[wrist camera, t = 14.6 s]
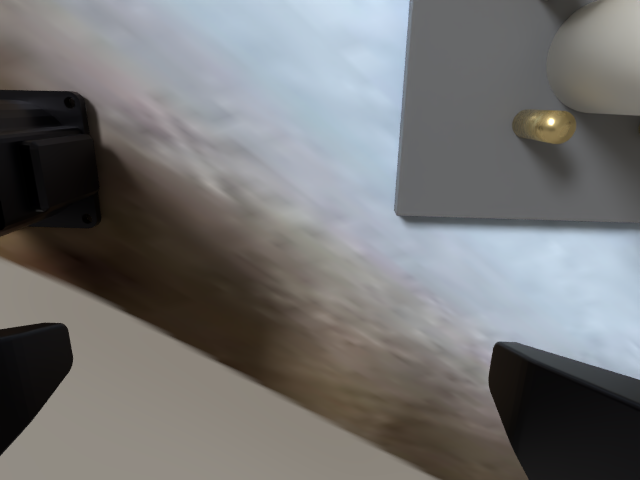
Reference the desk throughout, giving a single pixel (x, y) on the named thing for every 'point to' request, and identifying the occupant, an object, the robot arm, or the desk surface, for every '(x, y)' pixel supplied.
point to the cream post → (598, 59)
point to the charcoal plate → (504, 121)
